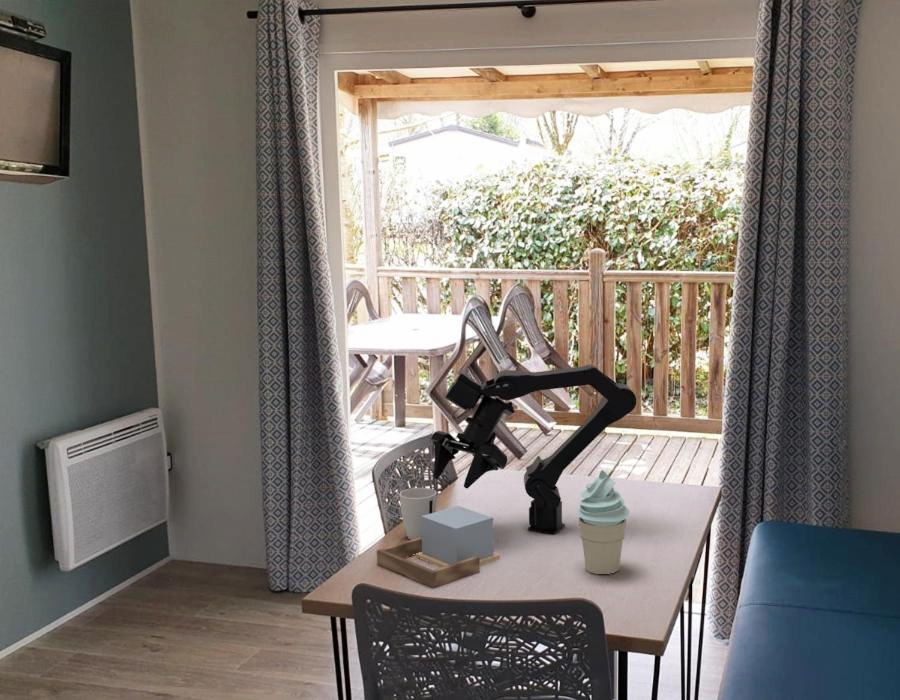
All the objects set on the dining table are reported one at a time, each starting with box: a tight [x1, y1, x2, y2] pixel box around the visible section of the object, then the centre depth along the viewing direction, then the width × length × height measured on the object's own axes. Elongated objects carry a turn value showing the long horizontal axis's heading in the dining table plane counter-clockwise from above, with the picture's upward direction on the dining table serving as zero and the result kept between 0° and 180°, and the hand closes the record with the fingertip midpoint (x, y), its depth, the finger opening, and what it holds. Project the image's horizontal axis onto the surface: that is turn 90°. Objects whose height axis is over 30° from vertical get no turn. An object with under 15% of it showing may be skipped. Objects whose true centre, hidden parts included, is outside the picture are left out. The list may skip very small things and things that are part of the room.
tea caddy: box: [415, 505, 501, 568], centre depth 205 cm, size 12×12×9 cm
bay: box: [376, 537, 481, 589], centre depth 200 cm, size 12×18×3 cm
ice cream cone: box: [577, 469, 630, 575], centre depth 196 cm, size 10×11×20 cm
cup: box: [399, 487, 438, 540], centre depth 219 cm, size 8×8×10 cm
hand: (450, 482), depth 213 cm, fingers open, 9 cm apart
